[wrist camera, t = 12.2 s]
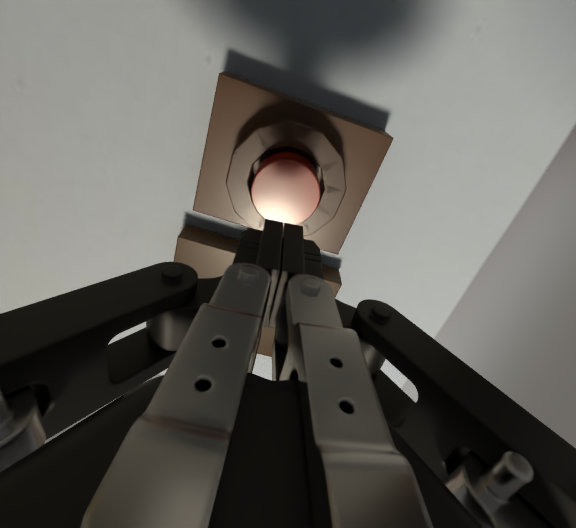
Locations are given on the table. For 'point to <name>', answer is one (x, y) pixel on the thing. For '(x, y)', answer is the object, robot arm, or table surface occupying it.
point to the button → (286, 188)
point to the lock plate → (227, 265)
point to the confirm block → (286, 138)
